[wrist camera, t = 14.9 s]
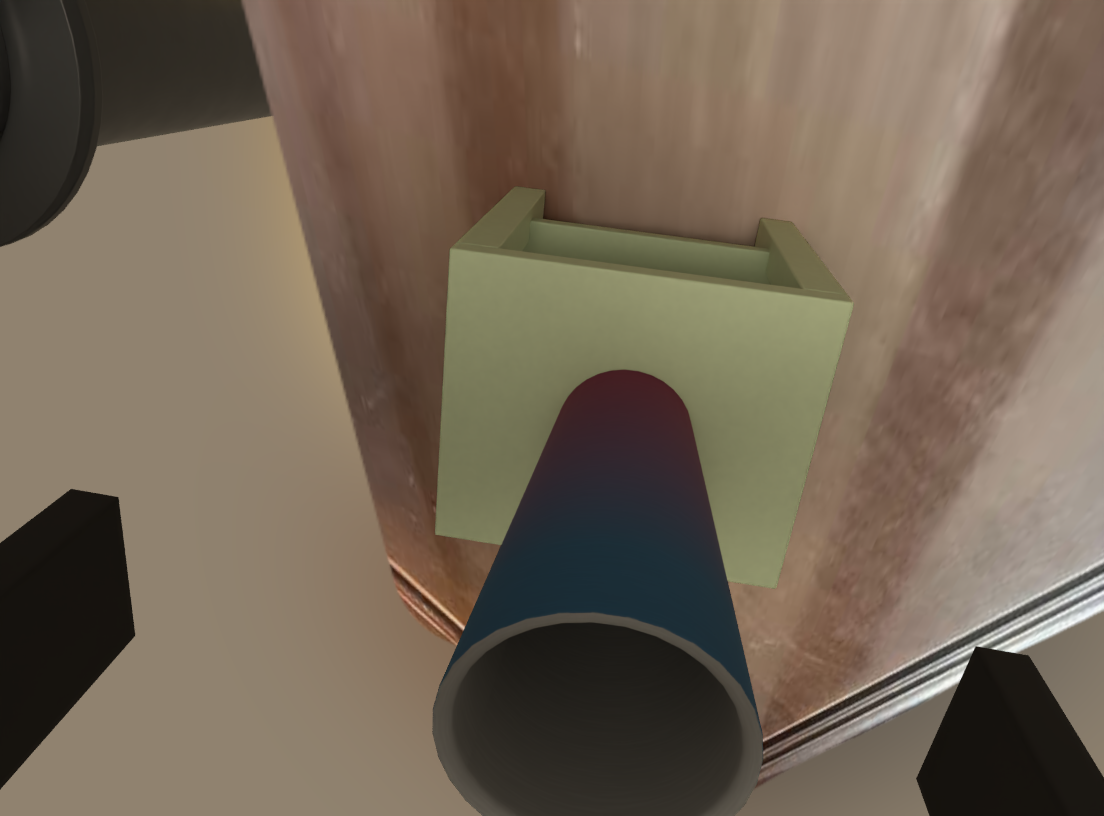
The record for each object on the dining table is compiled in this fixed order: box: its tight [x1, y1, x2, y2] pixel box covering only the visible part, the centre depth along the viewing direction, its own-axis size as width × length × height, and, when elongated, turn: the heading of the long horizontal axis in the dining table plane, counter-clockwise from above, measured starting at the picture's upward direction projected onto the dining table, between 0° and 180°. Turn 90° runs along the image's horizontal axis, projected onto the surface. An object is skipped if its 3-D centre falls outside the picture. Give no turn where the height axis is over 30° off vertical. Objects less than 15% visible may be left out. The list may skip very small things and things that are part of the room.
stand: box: [435, 186, 854, 589], centre depth 36 cm, size 14×12×14 cm
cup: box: [433, 370, 763, 816], centre depth 23 cm, size 7×7×15 cm
